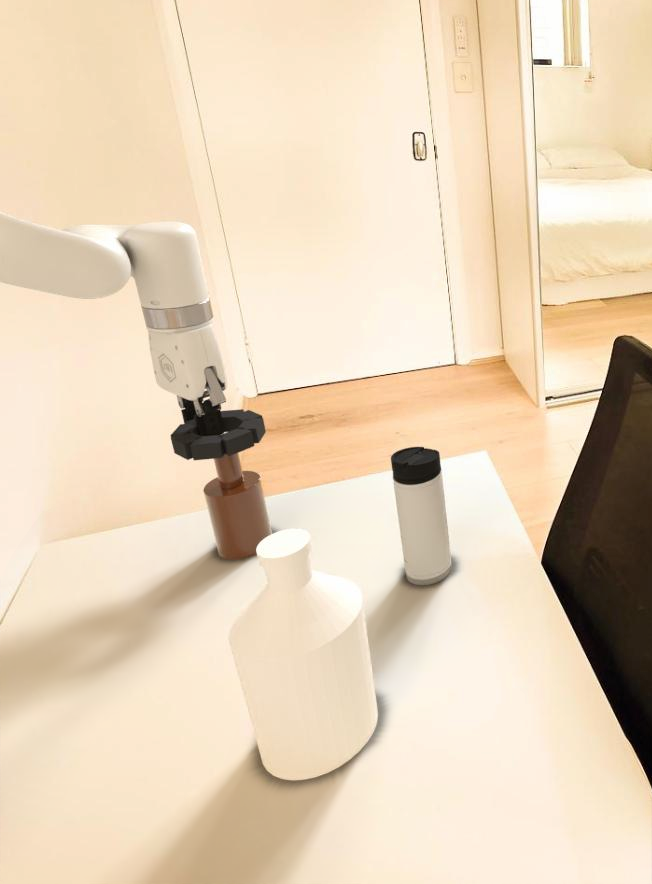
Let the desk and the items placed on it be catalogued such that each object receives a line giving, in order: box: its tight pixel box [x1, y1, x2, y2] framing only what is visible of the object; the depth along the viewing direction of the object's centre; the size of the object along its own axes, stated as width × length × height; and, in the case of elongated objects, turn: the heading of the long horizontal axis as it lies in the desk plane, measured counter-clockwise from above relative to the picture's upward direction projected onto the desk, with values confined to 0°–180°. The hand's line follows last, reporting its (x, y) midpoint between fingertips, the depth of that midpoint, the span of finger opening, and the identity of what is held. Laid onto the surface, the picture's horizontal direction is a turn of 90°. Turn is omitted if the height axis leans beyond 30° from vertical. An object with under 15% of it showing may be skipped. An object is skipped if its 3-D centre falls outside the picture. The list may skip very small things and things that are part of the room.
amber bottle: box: [203, 452, 273, 561], centre depth 101 cm, size 7×7×17 cm
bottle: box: [228, 528, 379, 781], centre depth 71 cm, size 12×12×25 cm
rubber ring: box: [170, 408, 267, 461], centre depth 98 cm, size 10×10×2 cm
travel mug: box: [390, 446, 453, 586], centre depth 97 cm, size 6×7×20 cm
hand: (206, 432), depth 100 cm, fingers closed on rubber ring, 2 cm apart
